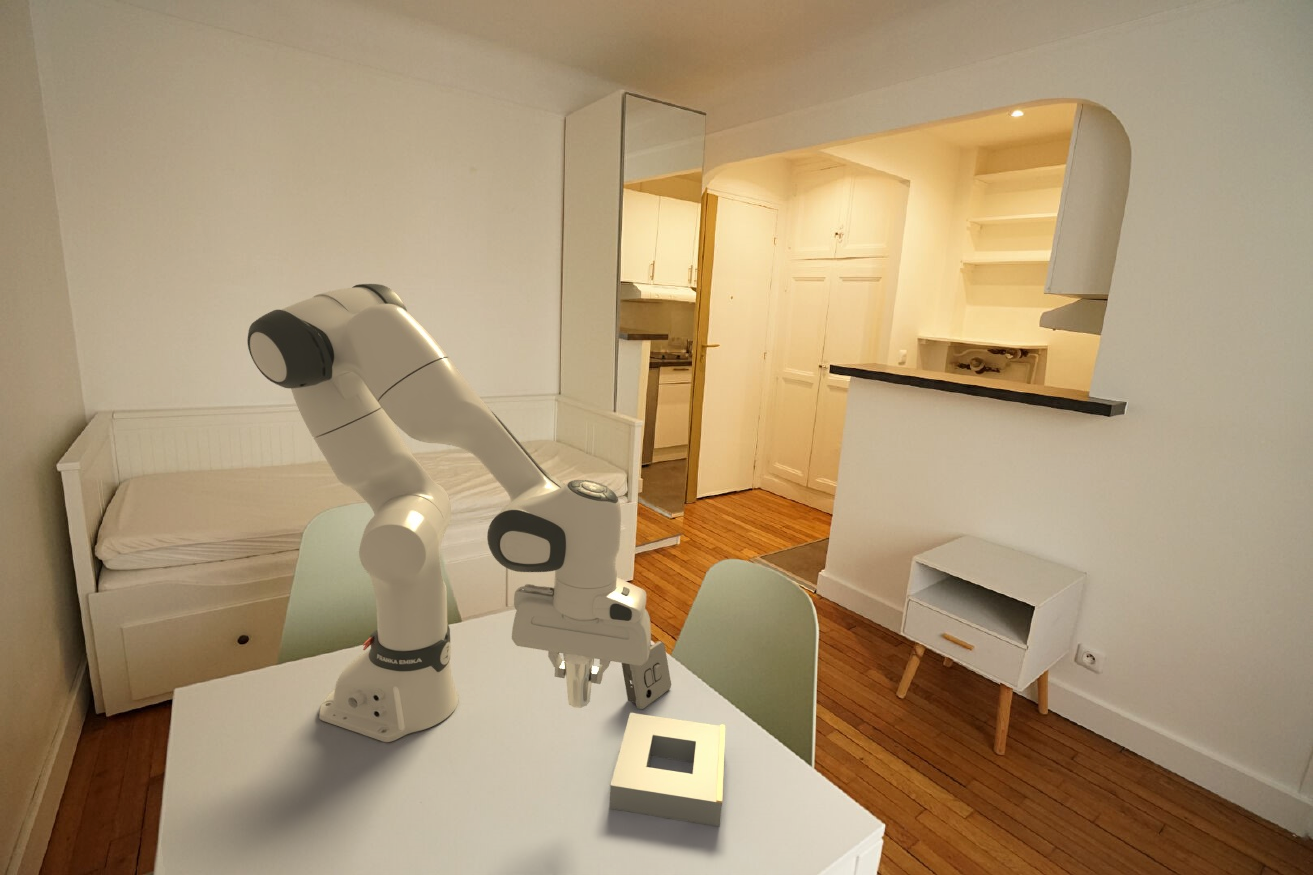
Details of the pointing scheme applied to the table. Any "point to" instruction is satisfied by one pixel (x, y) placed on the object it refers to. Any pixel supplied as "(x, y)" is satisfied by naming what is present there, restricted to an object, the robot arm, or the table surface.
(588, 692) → the milkshake
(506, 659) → the table surface
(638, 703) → the electrical switch
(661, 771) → the socket block
